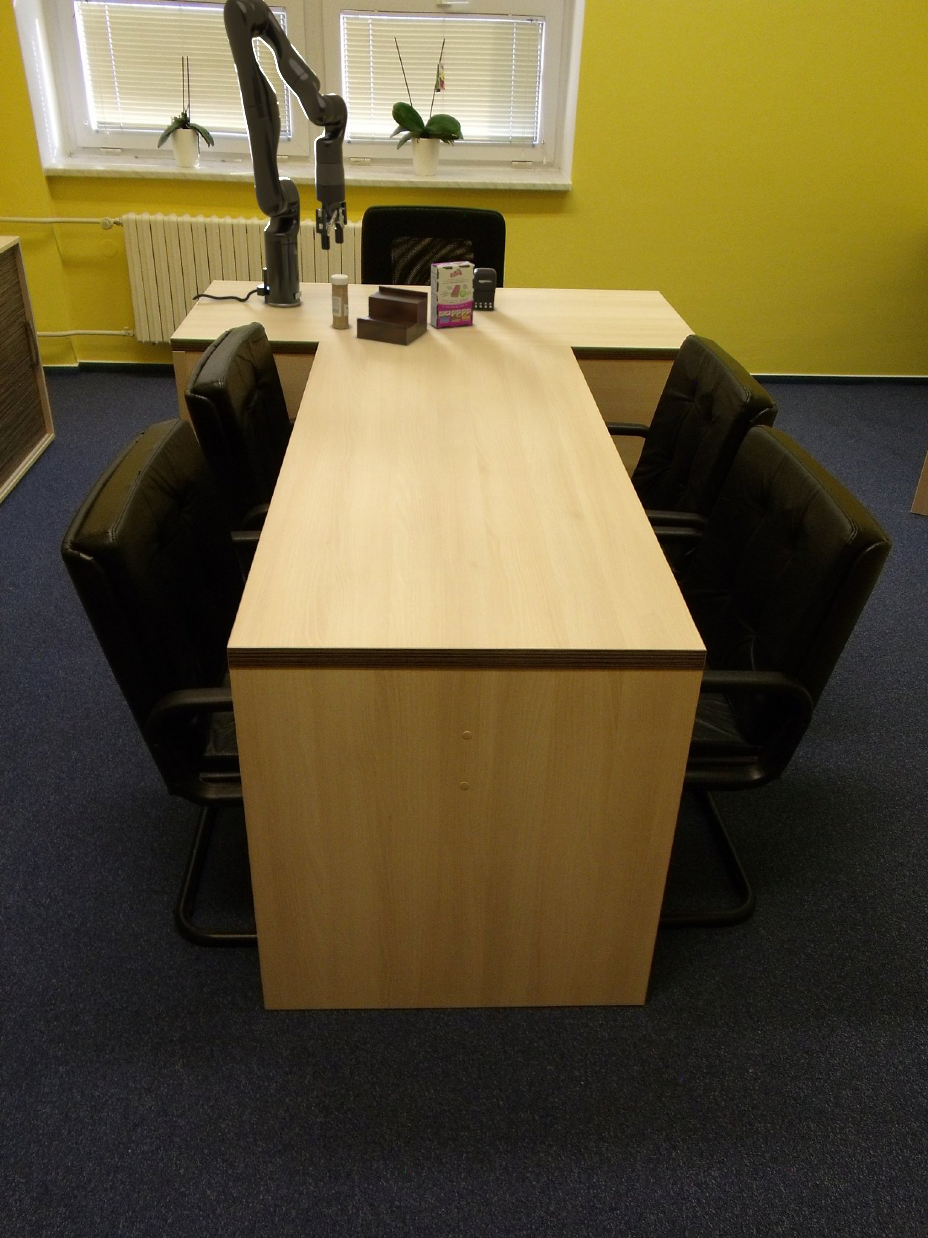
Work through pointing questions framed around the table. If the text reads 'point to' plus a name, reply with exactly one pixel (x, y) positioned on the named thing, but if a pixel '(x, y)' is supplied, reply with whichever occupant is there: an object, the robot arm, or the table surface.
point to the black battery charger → (484, 289)
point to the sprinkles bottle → (340, 301)
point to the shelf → (394, 316)
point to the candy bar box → (452, 294)
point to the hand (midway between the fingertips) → (332, 246)
